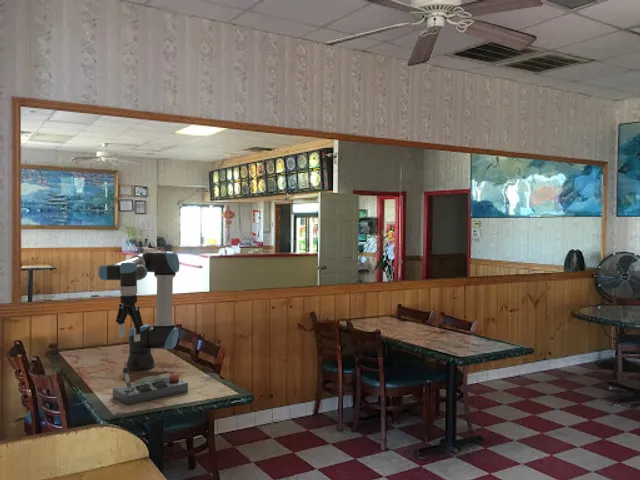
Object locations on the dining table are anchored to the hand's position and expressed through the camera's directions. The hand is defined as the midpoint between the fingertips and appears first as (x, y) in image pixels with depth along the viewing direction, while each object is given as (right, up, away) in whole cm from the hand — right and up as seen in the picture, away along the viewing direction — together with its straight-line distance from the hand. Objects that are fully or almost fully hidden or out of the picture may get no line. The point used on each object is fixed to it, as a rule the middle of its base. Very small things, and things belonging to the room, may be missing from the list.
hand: (129, 339), depth 266 cm
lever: (+3, -21, -10) cm, 23 cm away
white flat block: (+9, -18, -5) cm, 21 cm away
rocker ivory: (+15, -18, +1) cm, 23 cm away
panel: (+11, -25, -2) cm, 28 cm away
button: (+20, -21, +6) cm, 29 cm away
